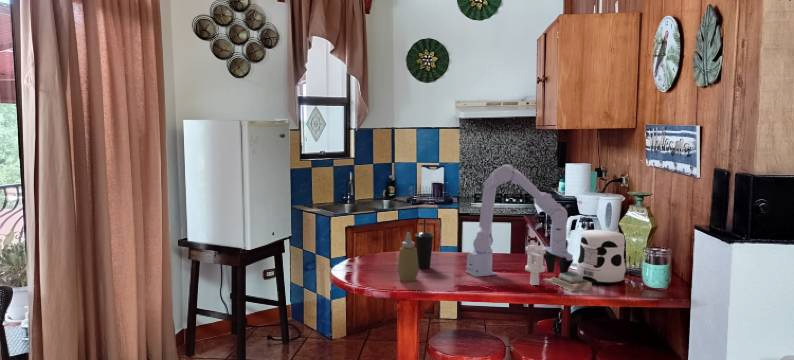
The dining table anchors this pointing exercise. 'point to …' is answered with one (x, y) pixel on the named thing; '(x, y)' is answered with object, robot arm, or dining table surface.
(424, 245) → the drinking cup
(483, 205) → the robot arm
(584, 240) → the milk container
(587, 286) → the dock
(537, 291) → the dining table surface
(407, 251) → the squeeze bottle
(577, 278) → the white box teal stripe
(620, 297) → the dining table surface
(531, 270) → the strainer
